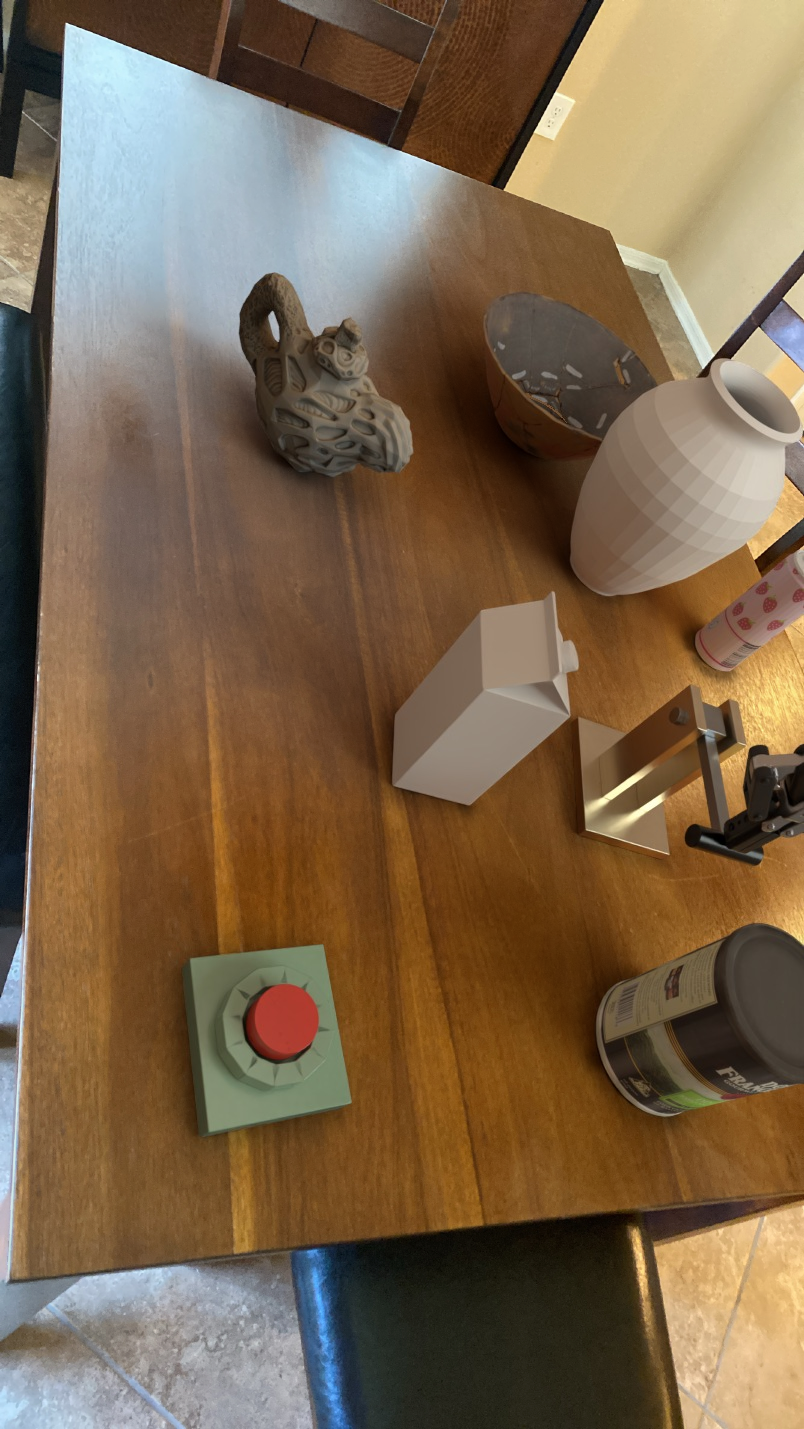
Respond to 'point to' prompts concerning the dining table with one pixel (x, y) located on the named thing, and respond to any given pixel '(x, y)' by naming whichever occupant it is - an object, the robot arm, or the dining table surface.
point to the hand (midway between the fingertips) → (732, 840)
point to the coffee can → (708, 1024)
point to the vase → (682, 479)
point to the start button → (282, 1021)
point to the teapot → (317, 389)
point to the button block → (226, 1062)
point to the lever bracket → (643, 770)
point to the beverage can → (755, 616)
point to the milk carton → (485, 703)
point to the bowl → (557, 375)
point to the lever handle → (715, 796)
